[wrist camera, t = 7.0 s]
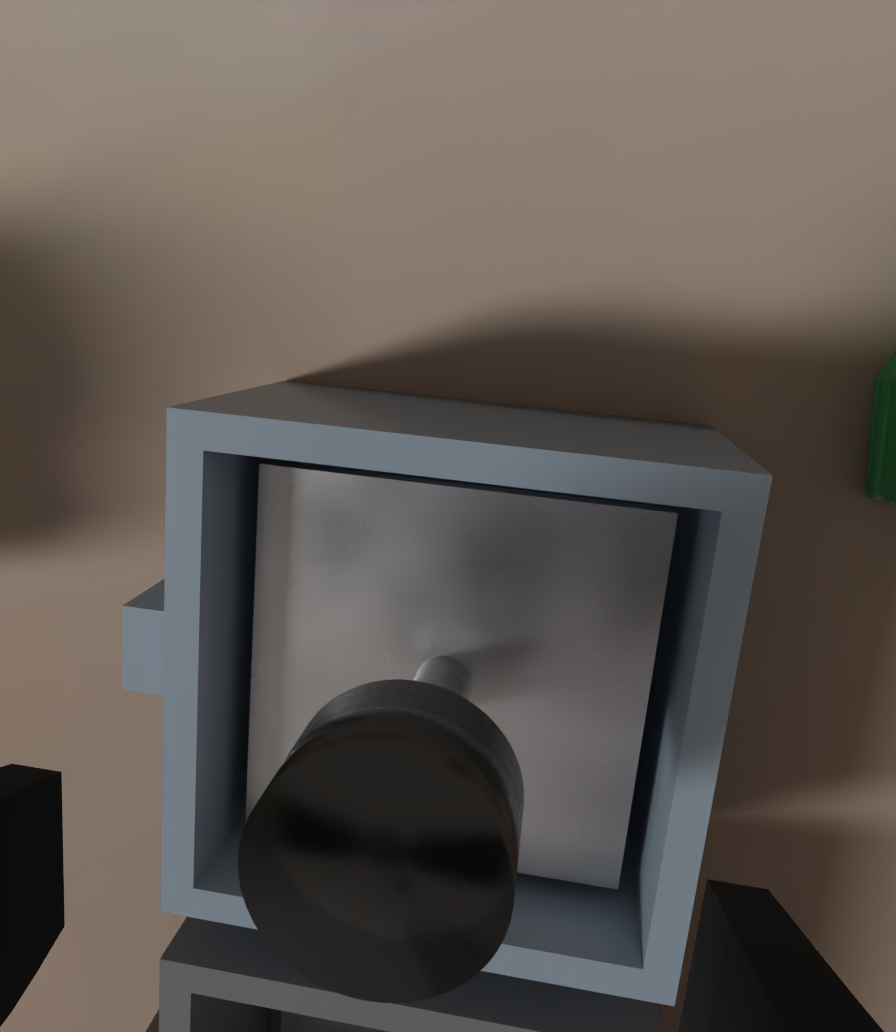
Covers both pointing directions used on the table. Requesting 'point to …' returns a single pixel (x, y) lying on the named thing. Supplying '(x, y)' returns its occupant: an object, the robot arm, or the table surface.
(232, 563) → the slate-blue press
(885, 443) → the pattern blocks set
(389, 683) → the slate-blue press plunger
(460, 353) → the table surface
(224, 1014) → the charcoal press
